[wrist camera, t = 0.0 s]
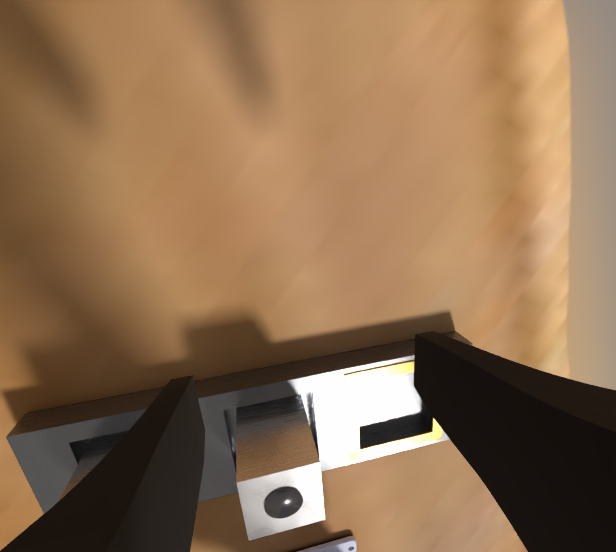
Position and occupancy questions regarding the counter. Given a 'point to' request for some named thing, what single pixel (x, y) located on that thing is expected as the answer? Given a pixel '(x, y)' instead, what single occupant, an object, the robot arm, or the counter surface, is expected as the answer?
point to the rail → (241, 392)
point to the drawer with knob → (277, 467)
